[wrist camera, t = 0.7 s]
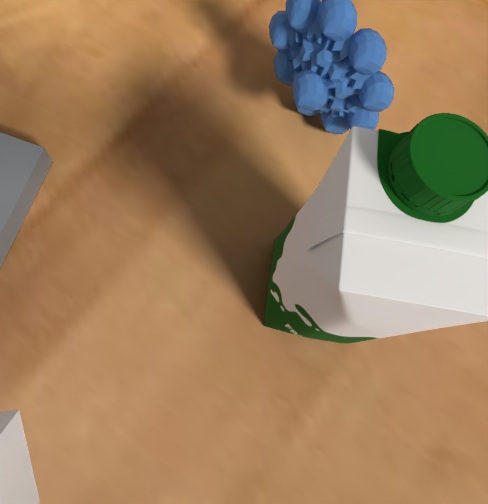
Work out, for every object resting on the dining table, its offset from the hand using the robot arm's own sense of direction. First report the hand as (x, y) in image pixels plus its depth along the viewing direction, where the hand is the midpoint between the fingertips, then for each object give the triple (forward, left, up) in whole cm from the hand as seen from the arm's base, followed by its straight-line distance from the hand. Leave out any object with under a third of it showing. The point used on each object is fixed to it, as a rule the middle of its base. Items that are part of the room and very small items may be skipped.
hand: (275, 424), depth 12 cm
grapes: (+25, 0, -23) cm, 34 cm away
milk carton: (+10, -5, -23) cm, 26 cm away
